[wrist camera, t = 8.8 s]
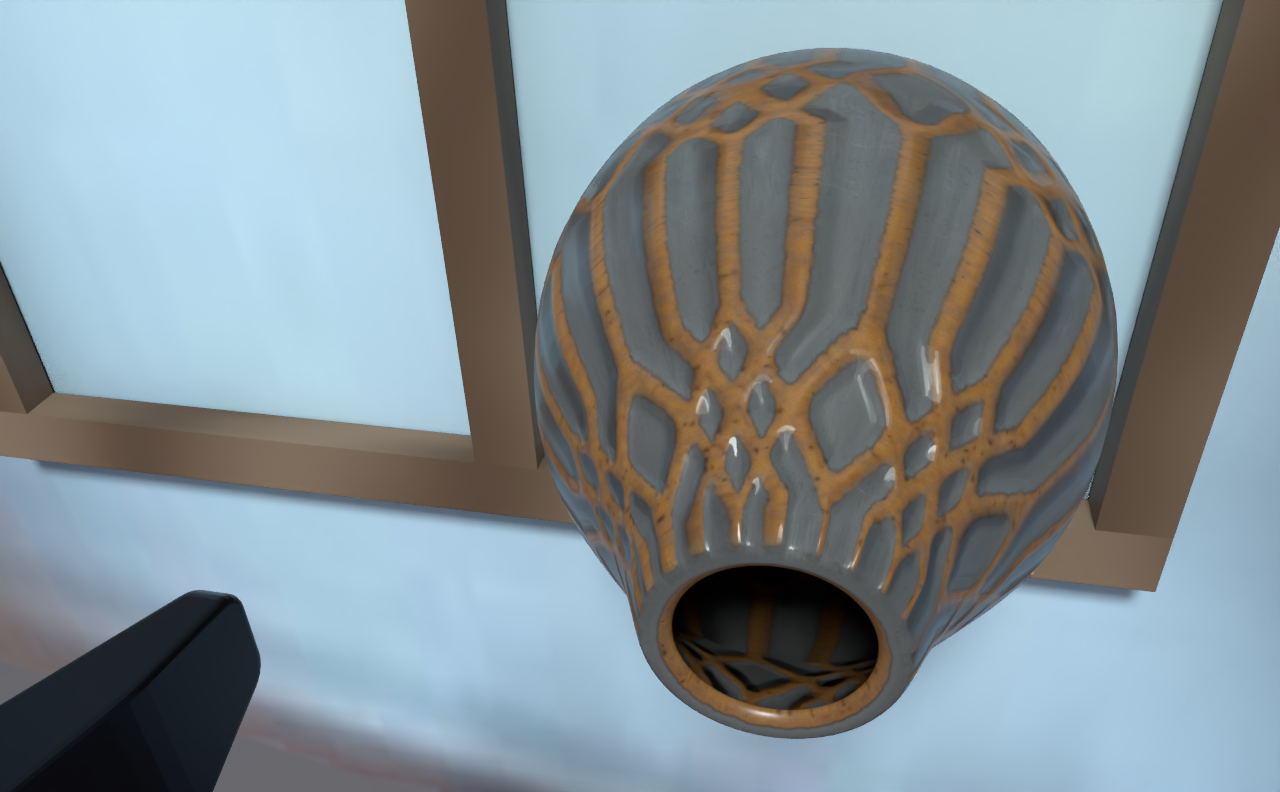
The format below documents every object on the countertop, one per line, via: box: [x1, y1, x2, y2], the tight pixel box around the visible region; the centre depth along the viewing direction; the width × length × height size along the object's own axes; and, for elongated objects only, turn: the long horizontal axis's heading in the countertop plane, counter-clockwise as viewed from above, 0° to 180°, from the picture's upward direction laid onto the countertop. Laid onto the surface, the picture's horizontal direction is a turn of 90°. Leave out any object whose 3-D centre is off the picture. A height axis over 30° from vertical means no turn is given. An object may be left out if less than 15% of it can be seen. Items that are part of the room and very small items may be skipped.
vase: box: [534, 48, 1118, 739], centre depth 12 cm, size 7×7×9 cm
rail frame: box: [0, 0, 1280, 592], centre depth 17 cm, size 23×12×1 cm, turn 91°
